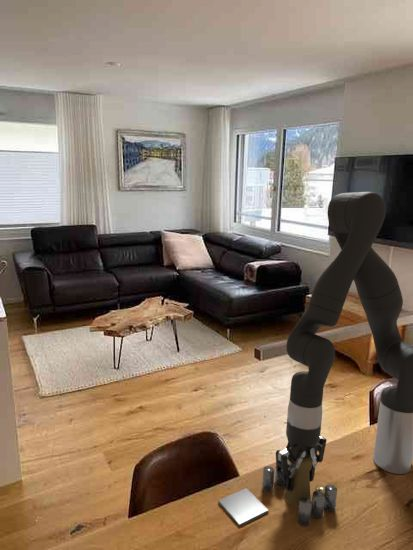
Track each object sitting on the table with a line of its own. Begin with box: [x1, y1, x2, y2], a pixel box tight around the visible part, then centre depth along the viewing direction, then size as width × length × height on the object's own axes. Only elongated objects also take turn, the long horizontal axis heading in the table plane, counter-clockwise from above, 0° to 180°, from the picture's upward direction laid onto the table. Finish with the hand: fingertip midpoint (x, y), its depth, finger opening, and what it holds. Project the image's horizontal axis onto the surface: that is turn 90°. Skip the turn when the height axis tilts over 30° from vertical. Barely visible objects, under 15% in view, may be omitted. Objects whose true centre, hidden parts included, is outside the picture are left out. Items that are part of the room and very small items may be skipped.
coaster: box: [218, 487, 269, 527], centre depth 93 cm, size 8×8×1 cm
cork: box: [284, 457, 312, 508], centre depth 96 cm, size 6×6×11 cm
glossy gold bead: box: [314, 483, 327, 495], centre depth 99 cm, size 3×3×1 cm
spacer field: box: [261, 465, 338, 527], centre depth 96 cm, size 11×15×5 cm
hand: (298, 483), depth 96 cm, fingers open, 6 cm apart
